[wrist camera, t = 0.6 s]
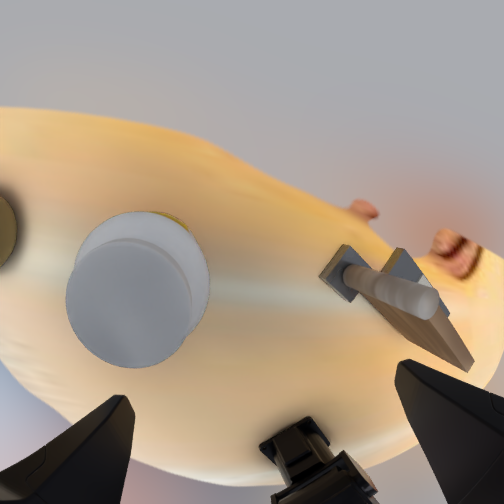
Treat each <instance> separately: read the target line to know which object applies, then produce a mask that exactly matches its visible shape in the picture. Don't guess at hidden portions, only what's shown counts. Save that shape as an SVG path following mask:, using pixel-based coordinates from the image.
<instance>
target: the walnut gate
mask: <svg viewBox="0 0 504 504" xmlns="http://www.w3.org/2000/svg"><path fill="white" fill-rule="evenodd" d="M343 281H344V283H345V285H346V286H348V287H350V288H353V289H355V290H357V291H359V292H360V293H361V294H362V295H363V296H364V297H365V298H366V299H367V300H368V301H369V302H370V303H371V304H372V305H373V306H374V307H375V308H376V309H377V310H378V311H379V312H380V313H381V314H382V315H383V316H384V317H385V318H386V319H387V320H388V321H389V322H390V323H391V324H392V325H393V326H394V327H395V328H396V329H397V330H398V331H399V332H400V333H401V334H402V335H403V336H404V337H405V338H406V339H407V340H409V341H410V342H412V343H414V344H416V345H418V346H420V347H421V348H423V349H425V350H427V351H429V352H430V353H432V354H434V355H436V356H438V357H440V358H441V359H443V360H445V361H447V362H449V363H450V364H452V365H454V366H456V367H458V368H460V369H461V370H463V371H465V372H467V373H468V371H469V370H470V368H471V366H472V365H473V363H474V362H475V361H474V359H473V357H472V356H471V354H470V352H469V351H468V349H467V347H466V346H465V344H464V343H463V341H462V339H461V338H460V336H459V335H458V333H457V331H456V330H455V328H454V327H453V325H452V324H451V322H450V321H449V319H448V318H447V316H446V315H445V313H444V312H443V310H442V309H441V307H440V306H439V293H438V291H437V290H436V289H435V288H432V287H428V286H425V285H422V284H419V283H416V282H412V281H409V280H406V279H403V278H399V277H396V276H393V275H389V274H386V273H383V272H380V271H376V270H373V269H370V268H366V267H363V266H360V265H356V264H351V265H349V266H348V267H347V268H346V269H345V271H344V273H343Z"/></svg>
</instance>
